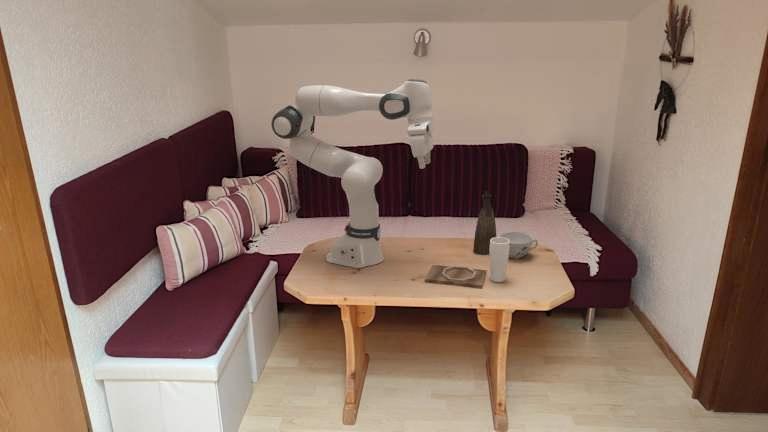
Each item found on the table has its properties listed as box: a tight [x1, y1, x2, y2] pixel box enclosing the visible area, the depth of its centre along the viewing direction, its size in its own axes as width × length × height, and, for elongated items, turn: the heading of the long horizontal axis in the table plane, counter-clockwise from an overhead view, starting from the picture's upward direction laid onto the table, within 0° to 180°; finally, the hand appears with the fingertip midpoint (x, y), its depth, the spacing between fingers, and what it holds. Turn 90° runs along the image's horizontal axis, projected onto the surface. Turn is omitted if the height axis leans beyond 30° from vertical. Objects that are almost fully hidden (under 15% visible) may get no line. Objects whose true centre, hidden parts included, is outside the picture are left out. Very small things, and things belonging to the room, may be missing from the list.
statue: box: [473, 190, 498, 255], centre depth 213 cm, size 9×8×25 cm
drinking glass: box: [489, 236, 510, 283], centre depth 190 cm, size 7×7×15 cm
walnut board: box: [424, 264, 487, 289], centre depth 195 cm, size 20×13×2 cm, turn 73°
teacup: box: [498, 231, 539, 260], centre depth 212 cm, size 15×12×8 cm
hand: (425, 165), depth 192 cm, fingers open, 8 cm apart
